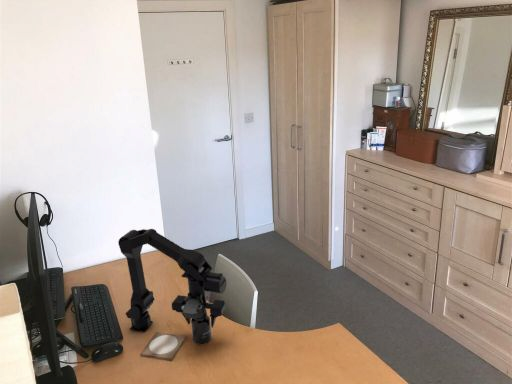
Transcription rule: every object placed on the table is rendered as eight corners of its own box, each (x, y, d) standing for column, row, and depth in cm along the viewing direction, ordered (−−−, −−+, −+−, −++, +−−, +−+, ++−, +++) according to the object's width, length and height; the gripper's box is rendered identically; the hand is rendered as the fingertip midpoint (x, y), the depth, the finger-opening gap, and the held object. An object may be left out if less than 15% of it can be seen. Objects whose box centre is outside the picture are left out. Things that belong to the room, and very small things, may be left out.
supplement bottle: (208, 346, 159) (205, 318, 154) (190, 344, 160) (187, 316, 156) (214, 333, 165) (211, 306, 161) (196, 332, 166) (193, 304, 162)
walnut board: (140, 355, 156) (140, 353, 155) (156, 333, 166) (156, 331, 166) (172, 361, 152) (171, 358, 152) (186, 338, 163) (185, 335, 163)
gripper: (162, 298, 150) (167, 336, 156) (214, 304, 145) (217, 343, 151) (176, 280, 160) (180, 316, 166) (225, 286, 155) (228, 323, 161)
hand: (201, 325), depth 160 cm, fingers open, 9 cm apart
